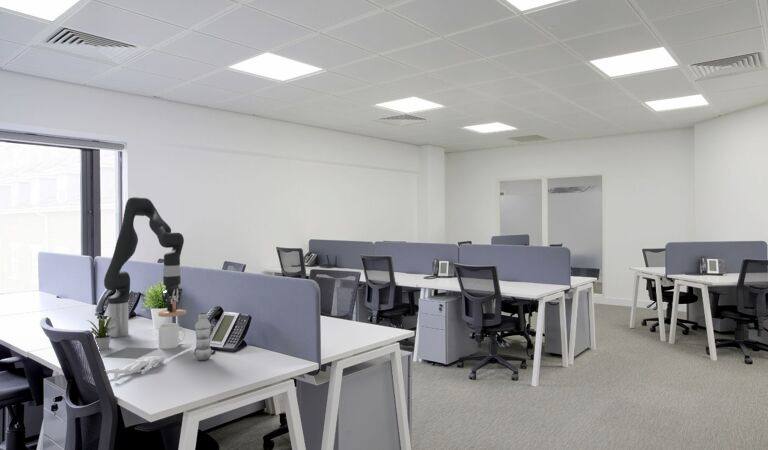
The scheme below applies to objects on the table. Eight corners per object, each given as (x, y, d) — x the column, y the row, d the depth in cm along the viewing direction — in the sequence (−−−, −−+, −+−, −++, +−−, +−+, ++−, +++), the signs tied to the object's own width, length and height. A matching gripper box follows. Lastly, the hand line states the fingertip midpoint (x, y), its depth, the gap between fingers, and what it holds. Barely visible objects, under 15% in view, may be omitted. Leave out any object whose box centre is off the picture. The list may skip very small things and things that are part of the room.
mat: (102, 358, 207) (102, 357, 207) (127, 348, 222) (127, 347, 222) (136, 360, 204) (136, 358, 204) (158, 350, 220) (158, 348, 220)
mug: (188, 346, 227) (188, 323, 227) (163, 351, 218) (163, 328, 218) (180, 343, 233) (180, 321, 233) (155, 348, 224) (155, 325, 224)
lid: (152, 316, 220) (152, 303, 220) (167, 311, 232) (167, 298, 232) (177, 317, 219) (177, 303, 219) (191, 312, 231) (190, 299, 231)
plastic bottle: (214, 358, 207) (214, 312, 207) (203, 362, 201) (203, 315, 201) (202, 356, 210) (202, 311, 209) (191, 361, 203) (191, 314, 203)
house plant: (129, 348, 224) (128, 313, 224) (100, 355, 211) (100, 318, 211) (109, 344, 230) (108, 310, 230) (80, 351, 217) (80, 316, 217)
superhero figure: (118, 387, 175) (173, 368, 198) (120, 371, 175) (174, 355, 198) (97, 379, 180) (153, 362, 203) (99, 364, 180) (154, 348, 203)
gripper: (173, 273, 233) (173, 308, 233) (155, 276, 219) (155, 313, 219) (187, 273, 232) (187, 308, 232) (170, 276, 218) (170, 314, 218)
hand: (172, 311), depth 225 cm, fingers closed on lid, 3 cm apart
